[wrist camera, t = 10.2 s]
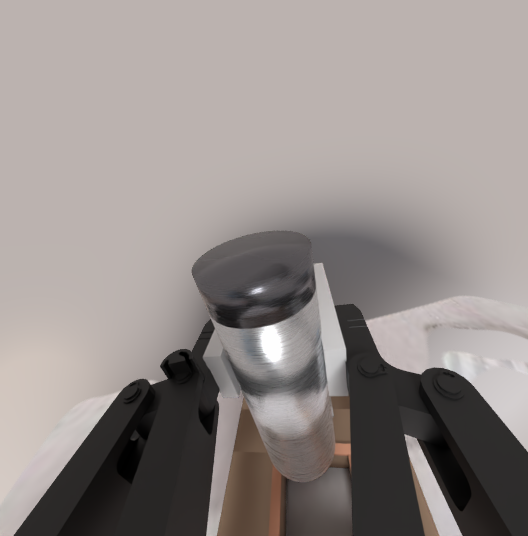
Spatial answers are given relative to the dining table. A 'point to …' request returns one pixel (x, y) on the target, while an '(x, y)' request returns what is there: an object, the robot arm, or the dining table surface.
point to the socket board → (280, 479)
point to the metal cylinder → (274, 343)
